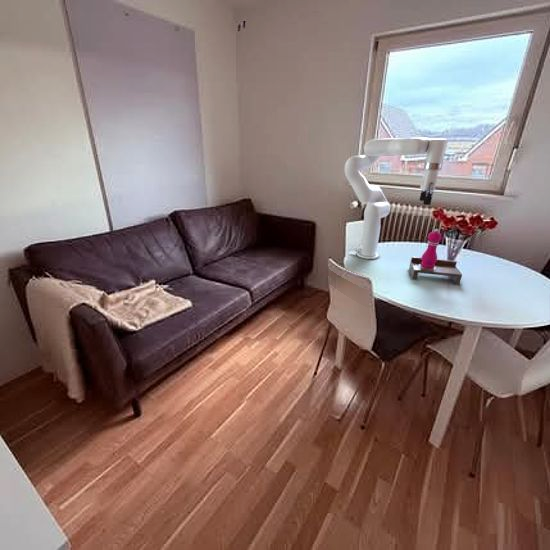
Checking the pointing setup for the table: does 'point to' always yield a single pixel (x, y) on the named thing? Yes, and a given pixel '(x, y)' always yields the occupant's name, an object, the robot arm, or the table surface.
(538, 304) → the table surface
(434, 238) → the pepper mill
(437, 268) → the shelf
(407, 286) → the table surface
